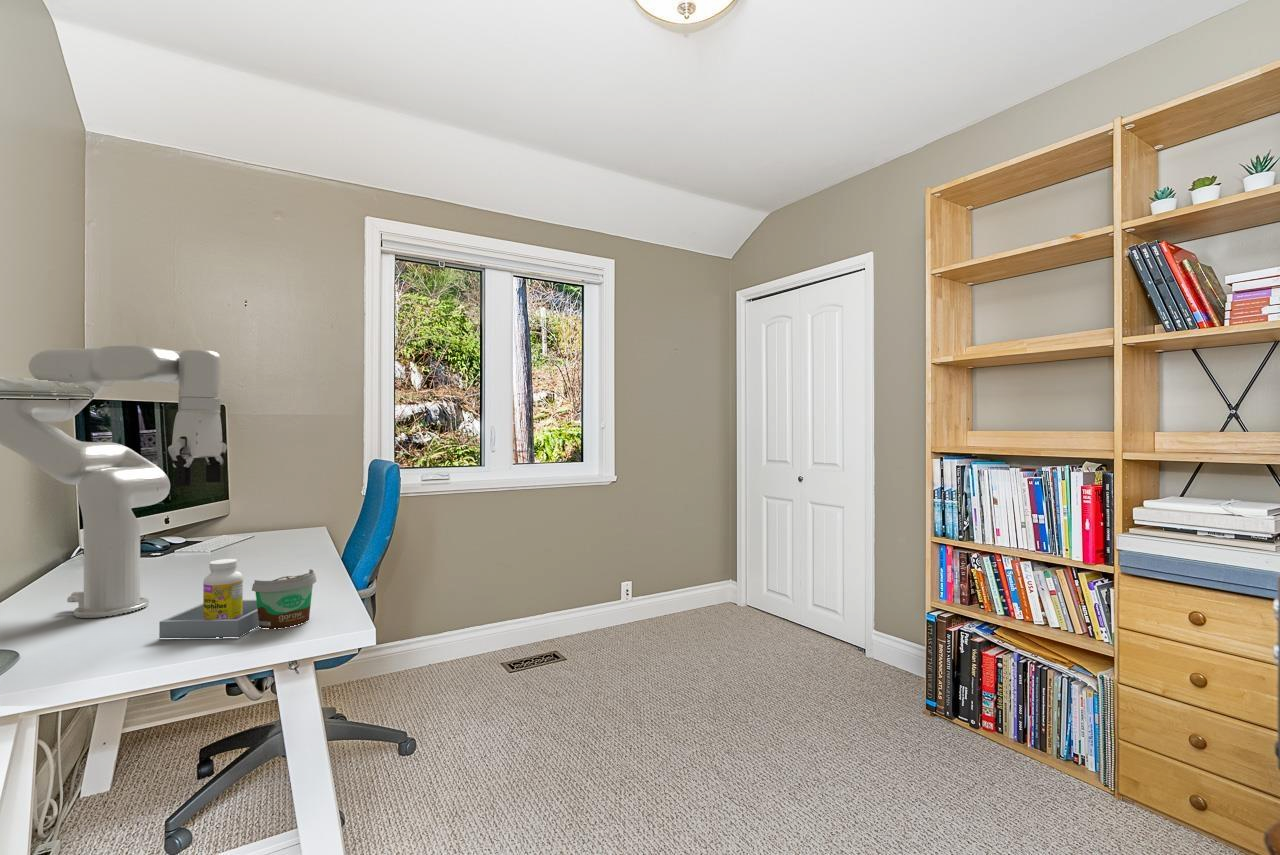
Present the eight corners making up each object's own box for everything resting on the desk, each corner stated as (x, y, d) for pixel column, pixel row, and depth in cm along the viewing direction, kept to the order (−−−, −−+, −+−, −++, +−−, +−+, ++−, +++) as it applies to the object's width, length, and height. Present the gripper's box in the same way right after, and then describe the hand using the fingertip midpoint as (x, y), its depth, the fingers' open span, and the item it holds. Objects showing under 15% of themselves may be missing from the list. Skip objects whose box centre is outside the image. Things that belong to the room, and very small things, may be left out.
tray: (159, 640, 116) (159, 621, 116) (209, 616, 131) (209, 600, 131) (238, 638, 117) (238, 620, 117) (279, 615, 132) (279, 599, 132)
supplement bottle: (194, 629, 121) (194, 564, 121) (220, 618, 128) (220, 557, 128) (226, 629, 121) (226, 565, 121) (250, 619, 127) (250, 557, 127)
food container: (267, 636, 119) (267, 584, 119) (251, 630, 122) (251, 580, 122) (328, 619, 129) (328, 572, 129) (312, 614, 132) (312, 568, 132)
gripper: (208, 407, 143) (207, 480, 143) (152, 404, 126) (151, 487, 126) (241, 407, 143) (240, 480, 143) (189, 404, 126) (189, 487, 126)
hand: (199, 483), depth 134 cm, fingers open, 9 cm apart
